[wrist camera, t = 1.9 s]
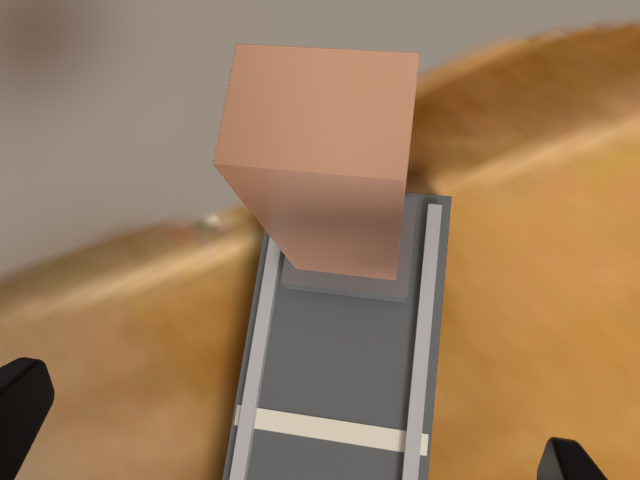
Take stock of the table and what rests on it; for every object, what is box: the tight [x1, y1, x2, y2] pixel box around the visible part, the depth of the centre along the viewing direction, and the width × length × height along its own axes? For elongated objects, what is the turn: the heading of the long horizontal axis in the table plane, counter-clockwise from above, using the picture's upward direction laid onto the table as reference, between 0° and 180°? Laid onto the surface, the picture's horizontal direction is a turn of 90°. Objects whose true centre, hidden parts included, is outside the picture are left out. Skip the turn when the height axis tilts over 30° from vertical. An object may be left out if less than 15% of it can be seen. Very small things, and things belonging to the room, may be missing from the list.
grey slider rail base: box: [222, 192, 451, 480], centre depth 20 cm, size 20×7×2 cm, turn 172°
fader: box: [213, 44, 420, 303], centre depth 15 cm, size 4×4×11 cm
